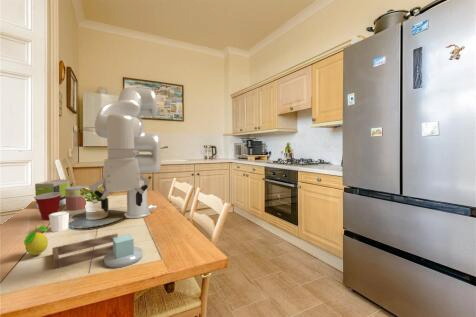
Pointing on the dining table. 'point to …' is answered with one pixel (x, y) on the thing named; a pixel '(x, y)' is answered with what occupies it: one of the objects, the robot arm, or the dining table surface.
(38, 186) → the tea box
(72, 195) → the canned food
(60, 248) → the frame
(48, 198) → the plastic cup
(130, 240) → the teal cube
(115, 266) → the grey round disc
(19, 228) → the dining table surface
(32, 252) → the lemon
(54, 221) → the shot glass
